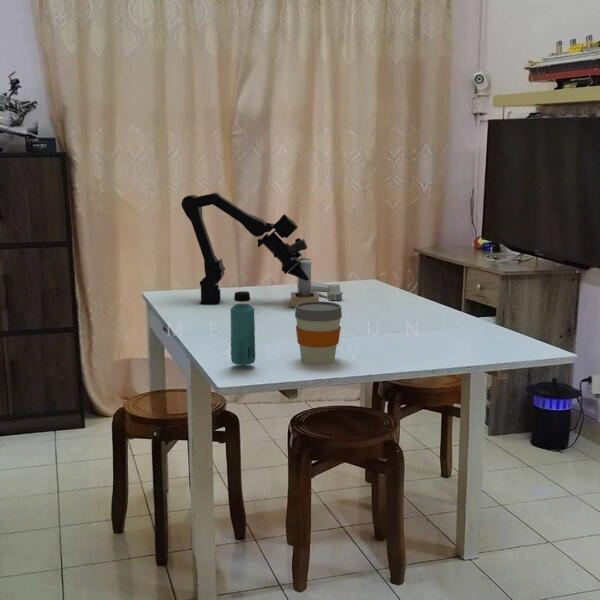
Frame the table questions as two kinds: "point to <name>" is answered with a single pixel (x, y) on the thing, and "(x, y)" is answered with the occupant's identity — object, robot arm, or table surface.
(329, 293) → the white elongated device
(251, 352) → the beverage bottle
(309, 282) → the tube
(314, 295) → the socket flange
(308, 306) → the reusable coffee cup
